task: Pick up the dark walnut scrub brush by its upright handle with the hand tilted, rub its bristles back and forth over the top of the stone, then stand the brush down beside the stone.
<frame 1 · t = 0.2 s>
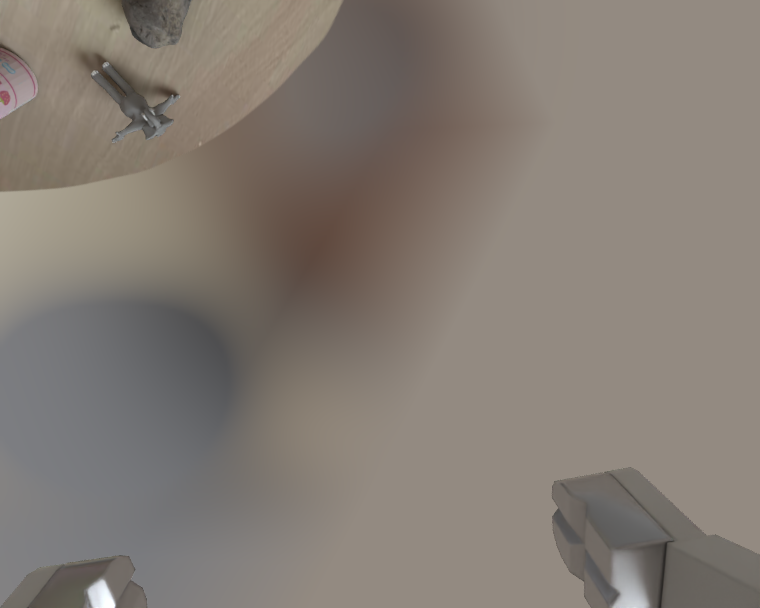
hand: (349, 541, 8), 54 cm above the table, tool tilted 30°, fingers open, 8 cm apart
beverage can: (10, 73, 46), on the table
elephant figurine: (139, 101, 49), on the table
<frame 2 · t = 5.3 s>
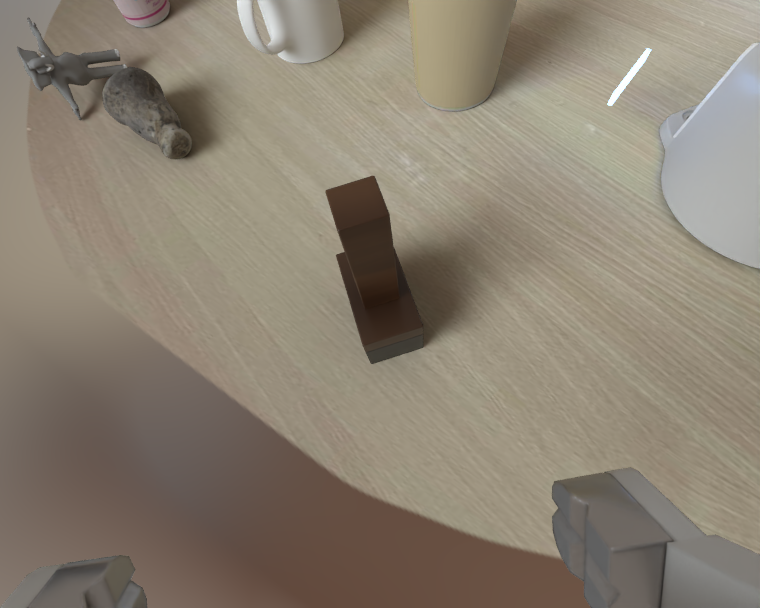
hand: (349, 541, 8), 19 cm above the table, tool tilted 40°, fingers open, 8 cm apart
mug: (300, 52, 44), on the table
beverage can: (150, 16, 49), on the table
coffee cup: (454, 85, 39), on the table
elephant figurine: (93, 90, 45), on the table
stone: (166, 132, 41), on the table
brush: (383, 313, 30), on the table
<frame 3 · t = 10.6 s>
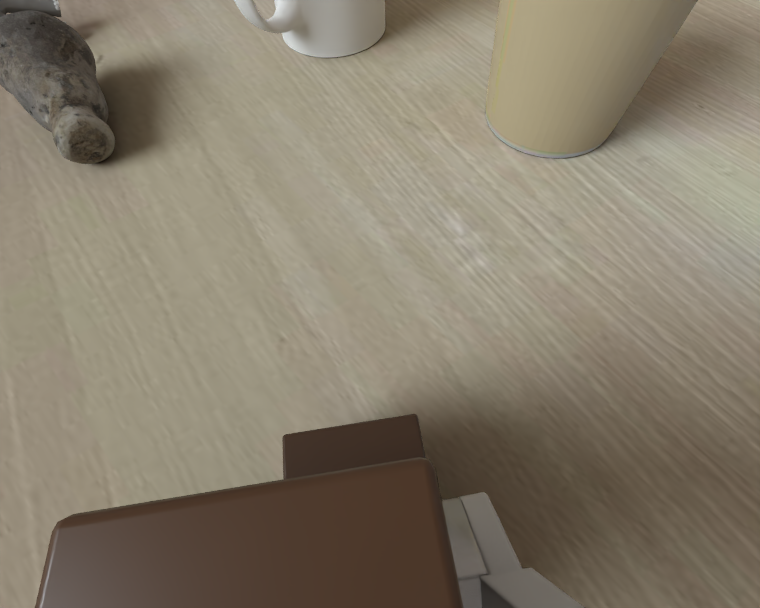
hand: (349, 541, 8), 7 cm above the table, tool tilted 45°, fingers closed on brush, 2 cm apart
mug: (319, 43, 30), on the table
coffee cup: (545, 119, 25), on the table
elephant figurine: (15, 52, 31), on the table
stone: (90, 122, 26), on the table
brush: (373, 552, 14), on the table, touching gripper
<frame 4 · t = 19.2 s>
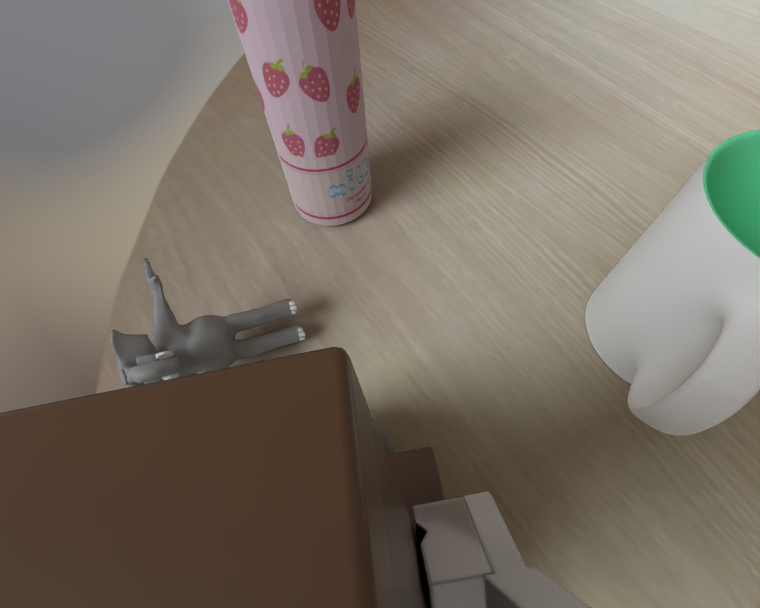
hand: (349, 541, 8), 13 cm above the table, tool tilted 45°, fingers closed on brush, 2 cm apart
mug: (646, 359, 22), on the table
beverage can: (334, 201, 29), on the table
elephant figurine: (228, 357, 23), on the table
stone: (385, 533, 18), on the table, touching brush
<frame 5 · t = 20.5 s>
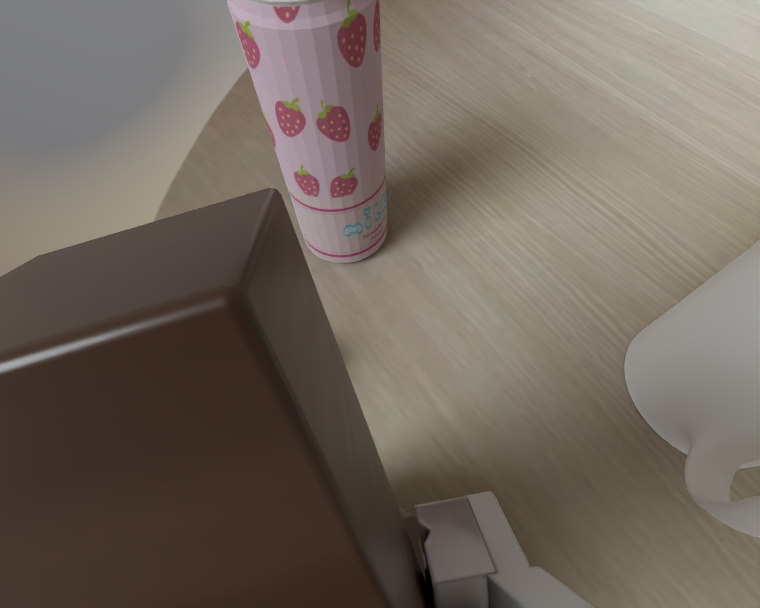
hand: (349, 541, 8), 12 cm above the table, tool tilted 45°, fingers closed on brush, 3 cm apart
mug: (693, 419, 20), on the table
beverage can: (346, 234, 27), on the table
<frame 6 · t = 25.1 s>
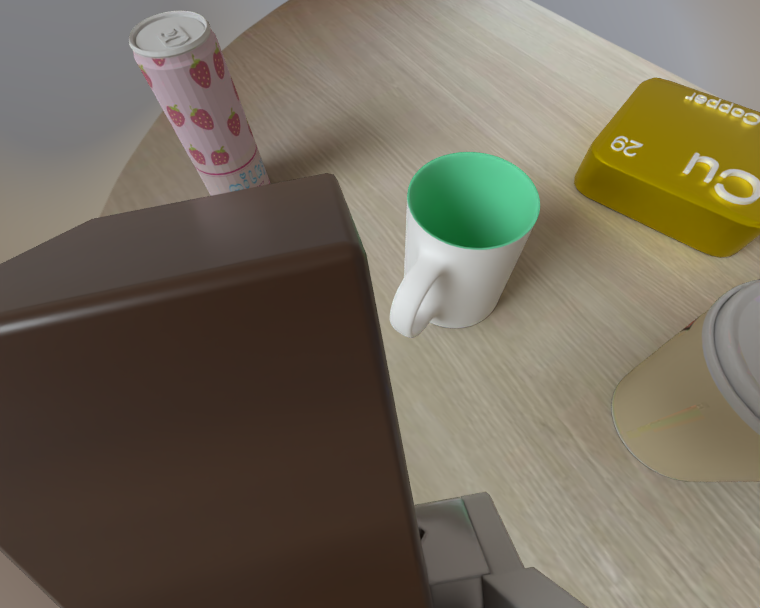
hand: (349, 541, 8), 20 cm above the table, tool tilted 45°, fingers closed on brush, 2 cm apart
mug: (439, 303, 33), on the table
beverage can: (244, 196, 39), on the table
coffee cup: (666, 422, 27), on the table
element tile: (670, 180, 38), on the table
when the fingers open (6 cm above the table, at t = 29.4 s): brush drops 2 cm, on the table.
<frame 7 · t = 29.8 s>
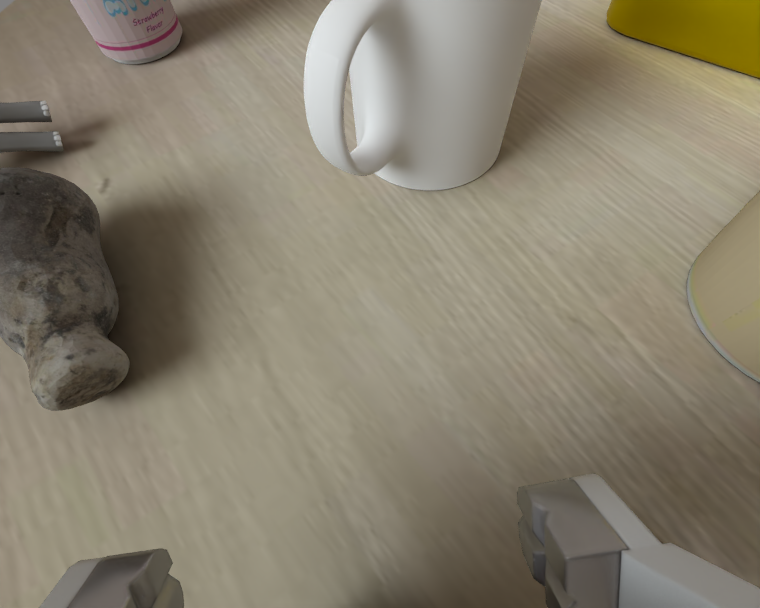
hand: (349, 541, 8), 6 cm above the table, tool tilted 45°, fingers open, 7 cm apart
mug: (410, 162, 22), on the table
beverage can: (146, 46, 28), on the table
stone: (91, 303, 18), on the table
element tile: (741, 17, 27), on the table
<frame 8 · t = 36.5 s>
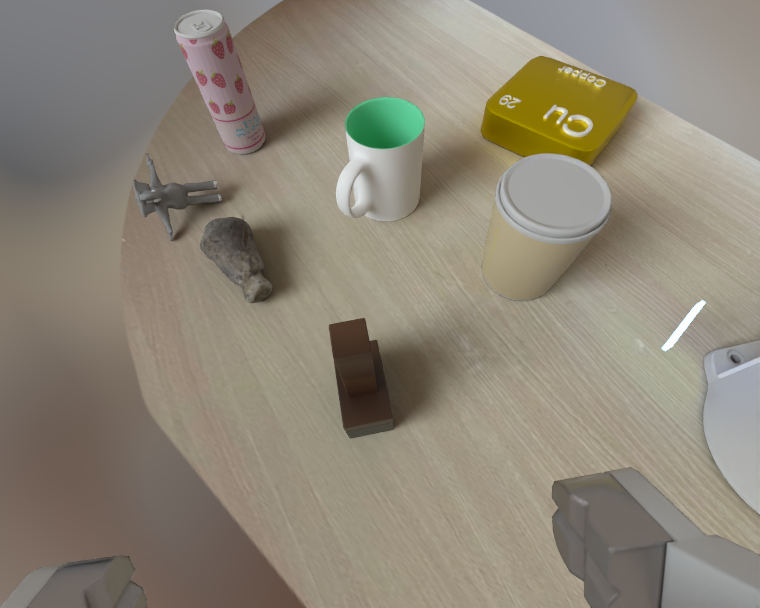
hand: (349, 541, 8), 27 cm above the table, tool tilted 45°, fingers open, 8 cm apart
mug: (378, 207, 48), on the table
beverage can: (246, 142, 55), on the table
coffee cup: (516, 271, 43), on the table
elephant figurine: (186, 210, 49), on the table
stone: (248, 268, 44), on the table
element tile: (550, 129, 54), on the table
brush: (364, 396, 37), on the table
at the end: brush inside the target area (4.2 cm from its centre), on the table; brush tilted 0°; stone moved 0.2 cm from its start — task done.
